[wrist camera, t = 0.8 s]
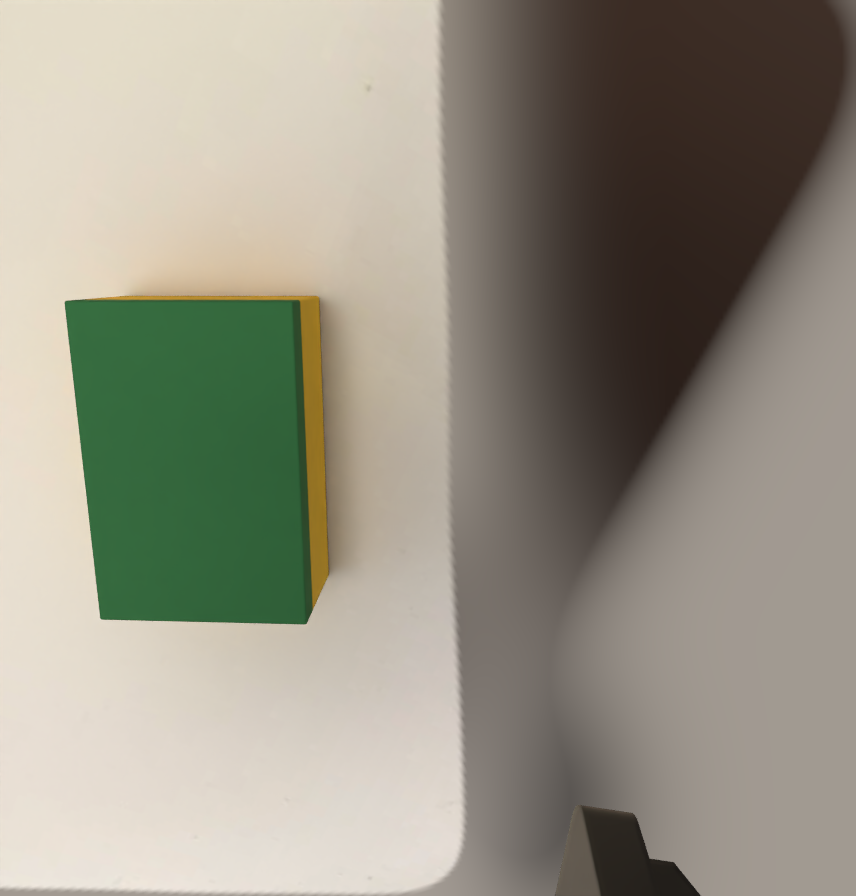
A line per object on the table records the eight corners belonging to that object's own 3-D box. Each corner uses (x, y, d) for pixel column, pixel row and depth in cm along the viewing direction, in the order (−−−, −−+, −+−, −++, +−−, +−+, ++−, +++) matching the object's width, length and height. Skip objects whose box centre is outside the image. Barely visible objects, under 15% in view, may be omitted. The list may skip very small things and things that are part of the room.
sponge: (319, 295, 22) (292, 301, 19) (329, 575, 25) (306, 625, 21) (124, 295, 23) (63, 300, 19) (150, 571, 25) (99, 620, 21)
